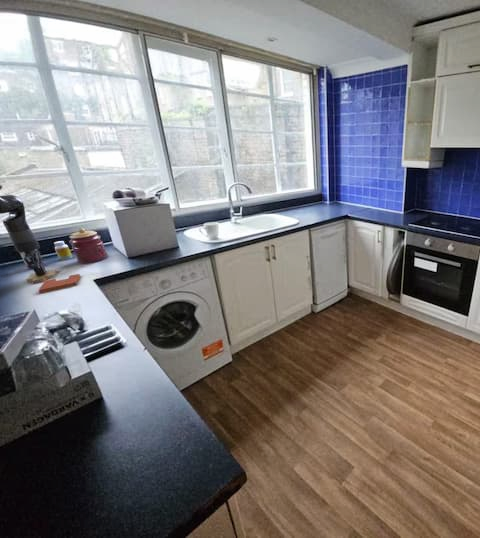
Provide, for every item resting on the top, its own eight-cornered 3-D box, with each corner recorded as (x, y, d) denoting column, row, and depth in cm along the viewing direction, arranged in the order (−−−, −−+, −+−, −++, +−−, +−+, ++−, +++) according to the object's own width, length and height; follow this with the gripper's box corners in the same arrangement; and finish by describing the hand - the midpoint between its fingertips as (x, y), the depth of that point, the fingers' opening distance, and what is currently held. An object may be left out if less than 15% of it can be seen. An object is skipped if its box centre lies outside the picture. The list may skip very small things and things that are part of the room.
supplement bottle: (74, 257, 167) (67, 241, 163) (62, 260, 163) (54, 244, 159) (70, 256, 169) (63, 240, 165) (58, 259, 165) (50, 242, 161)
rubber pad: (40, 293, 126) (38, 290, 125) (46, 283, 135) (44, 280, 134) (76, 285, 132) (75, 282, 132) (80, 276, 141) (79, 273, 141)
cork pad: (25, 285, 134) (18, 272, 131) (32, 276, 143) (26, 264, 141) (52, 279, 139) (46, 267, 136) (57, 271, 148) (51, 259, 145)
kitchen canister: (92, 264, 156) (78, 232, 149) (71, 263, 158) (57, 231, 151) (114, 255, 168) (102, 225, 161) (95, 254, 170) (82, 225, 163)
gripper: (17, 238, 138) (34, 271, 145) (7, 245, 127) (26, 280, 134) (39, 234, 142) (54, 267, 149) (31, 241, 131) (49, 276, 138)
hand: (41, 273), depth 142 cm, fingers open, 5 cm apart
